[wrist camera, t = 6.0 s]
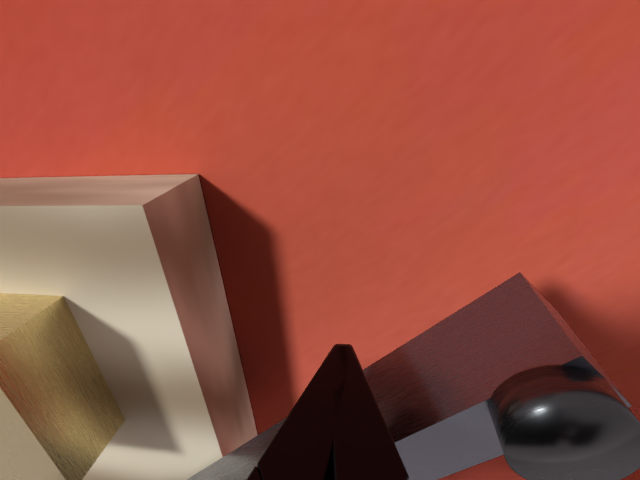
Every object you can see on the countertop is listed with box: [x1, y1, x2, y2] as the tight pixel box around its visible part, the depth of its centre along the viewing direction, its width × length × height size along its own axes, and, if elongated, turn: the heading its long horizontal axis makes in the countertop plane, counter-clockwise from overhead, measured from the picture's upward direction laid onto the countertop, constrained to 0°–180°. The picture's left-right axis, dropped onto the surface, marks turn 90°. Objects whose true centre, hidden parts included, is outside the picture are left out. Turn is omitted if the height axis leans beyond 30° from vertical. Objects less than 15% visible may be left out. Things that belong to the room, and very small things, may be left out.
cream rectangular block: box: [0, 174, 258, 480], centre depth 12 cm, size 16×10×6 cm, turn 3°
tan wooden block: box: [0, 293, 125, 480], centre depth 11 cm, size 6×4×2 cm
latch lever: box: [187, 272, 640, 480], centre depth 9 cm, size 16×2×3 cm, turn 138°
